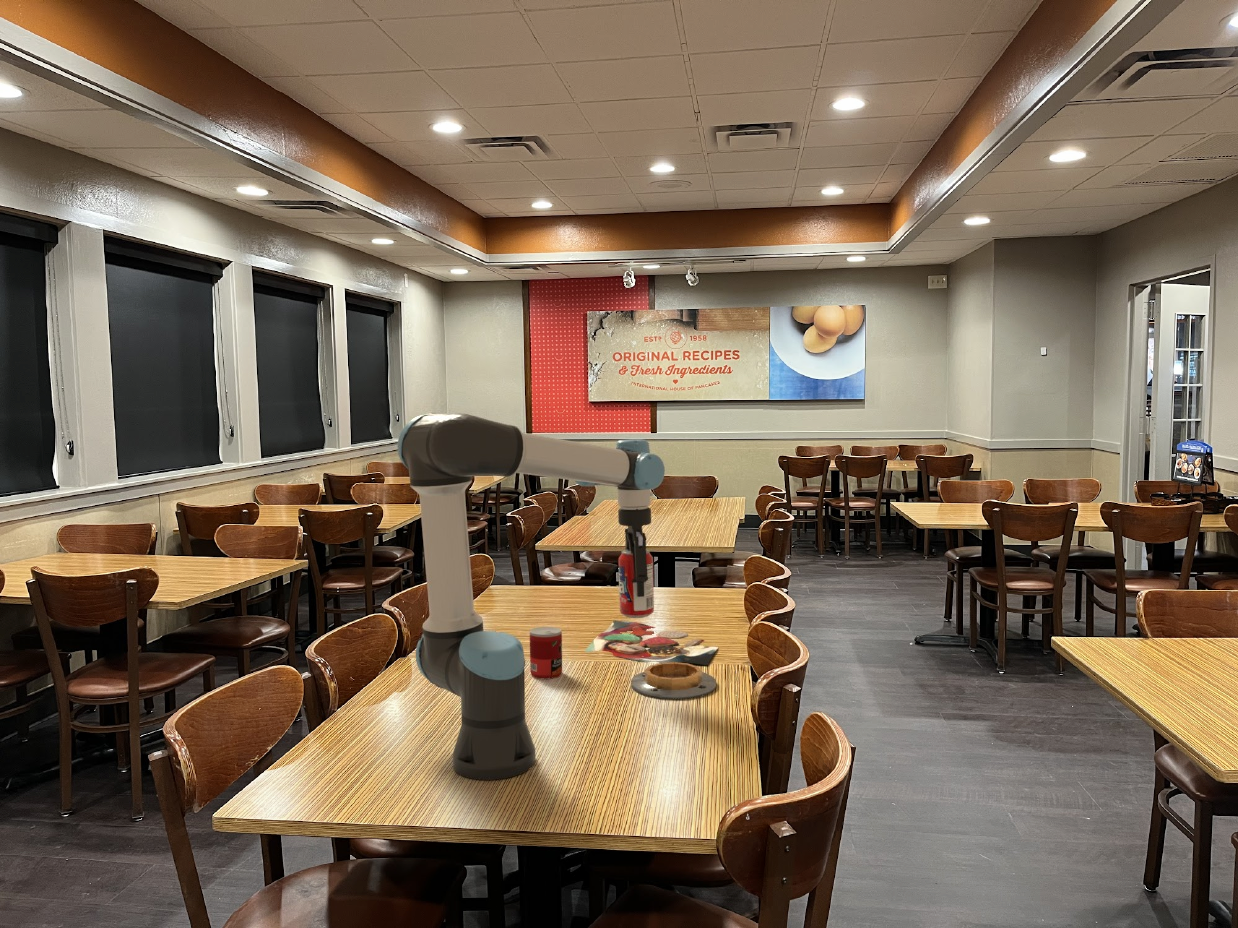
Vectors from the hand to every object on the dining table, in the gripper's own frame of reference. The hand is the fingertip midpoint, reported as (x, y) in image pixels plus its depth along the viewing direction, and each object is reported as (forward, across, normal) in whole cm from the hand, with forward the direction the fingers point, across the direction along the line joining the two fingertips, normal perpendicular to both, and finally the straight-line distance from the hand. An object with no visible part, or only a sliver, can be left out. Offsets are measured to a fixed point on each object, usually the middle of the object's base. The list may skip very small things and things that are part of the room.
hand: (636, 605), depth 197 cm
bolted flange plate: (+20, +2, -9) cm, 22 cm away
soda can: (+2, 0, 0) cm, 2 cm away
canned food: (+20, +17, +20) cm, 33 cm away
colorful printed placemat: (+21, +38, -12) cm, 45 cm away
